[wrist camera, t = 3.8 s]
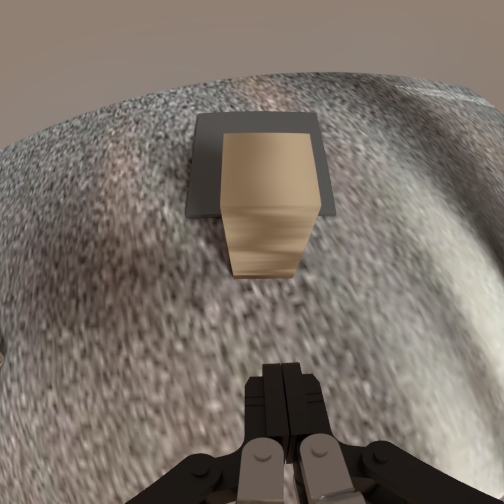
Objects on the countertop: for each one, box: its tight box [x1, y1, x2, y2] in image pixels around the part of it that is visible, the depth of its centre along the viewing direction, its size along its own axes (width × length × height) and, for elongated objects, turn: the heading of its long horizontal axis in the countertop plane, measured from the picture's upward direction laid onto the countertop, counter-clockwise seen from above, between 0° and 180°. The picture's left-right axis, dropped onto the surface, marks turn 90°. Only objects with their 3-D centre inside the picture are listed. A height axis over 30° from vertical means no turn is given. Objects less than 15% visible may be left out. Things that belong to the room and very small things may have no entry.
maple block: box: [220, 133, 321, 279], centre depth 21 cm, size 5×5×12 cm
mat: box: [186, 111, 336, 218], centre depth 30 cm, size 14×14×1 cm
